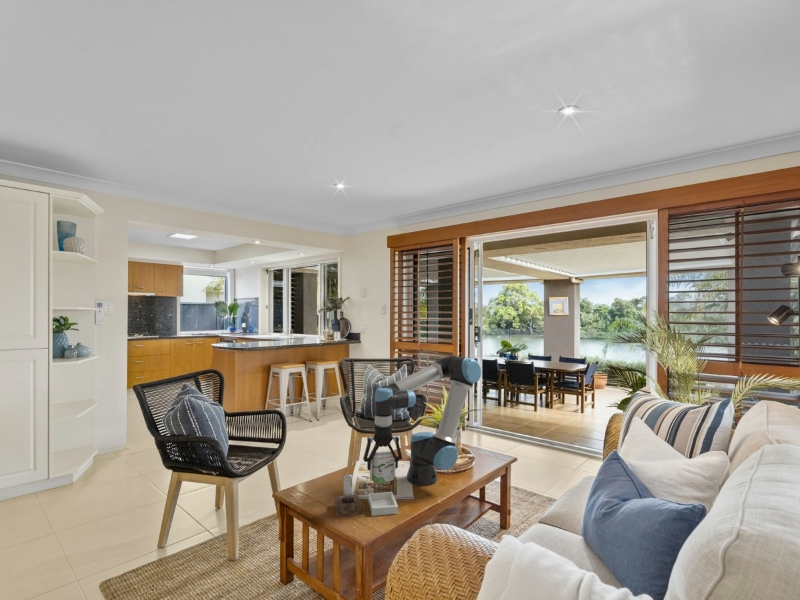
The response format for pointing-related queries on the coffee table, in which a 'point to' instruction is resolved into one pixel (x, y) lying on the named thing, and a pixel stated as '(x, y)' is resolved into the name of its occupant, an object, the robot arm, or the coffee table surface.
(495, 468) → the coffee table surface
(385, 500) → the tray
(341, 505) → the hollow square tube
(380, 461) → the ink box
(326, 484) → the coffee table surface
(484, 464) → the coffee table surface
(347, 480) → the cylinder
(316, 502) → the coffee table surface
